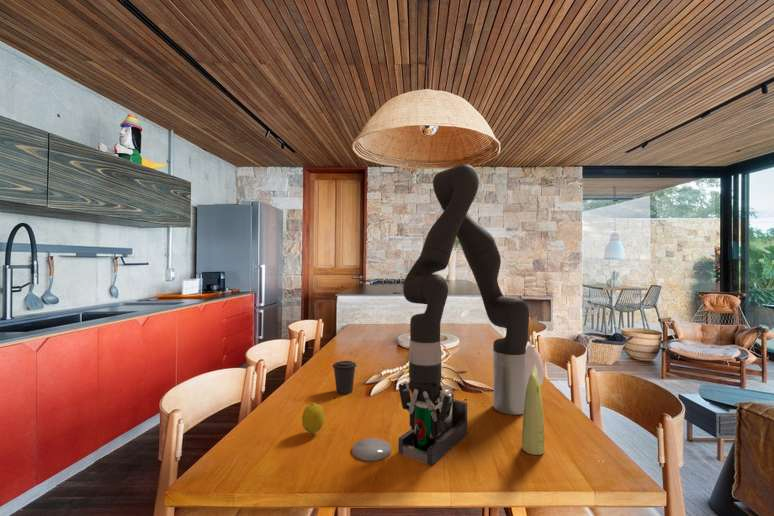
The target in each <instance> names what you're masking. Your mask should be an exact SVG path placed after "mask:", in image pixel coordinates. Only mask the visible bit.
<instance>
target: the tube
mask: <svg viewBox="0 0 774 516" xmlns="http://www.w3.org/2000/svg"><path fill="white" fill-rule="evenodd" d="M543 406H544V405H543V397H542V389H541V386H540V382H539V376H538V371H537V368H536V363H535V365H534V367H533V370H532V373H531V375H530V377H529V380H528V384H527V389H526V395H525V402H524V412H523V414H522V416H523V417H522V428H521V429H522V432H521V435H522V436H521V449H522V450H523V451H524V452H526V453H527V454H530V455H532V456H533V455H534V456H540V455H543V454H544V453H545V428H544V427H545V426H544V425H545V424H544V423H545V422H544V421H545V420H544V407H543Z"/></svg>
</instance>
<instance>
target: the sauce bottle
mask: <svg viewBox="0 0 774 516" xmlns="http://www.w3.org/2000/svg"><path fill="white" fill-rule="evenodd" d="M535 363H536V368H537V371H538V376H539V382H540V387H541V386H542V385H543V382H544V379H545V378H544V377H545V369H544V363H543V360H542V357H541V354H540V353H539V350H537V348H536V345H535V344H533V339H532V337H530V344H527V346H526V389H527V384H528V380H529V377H530V375H531V373H532V370H533V367H534V365H535Z"/></svg>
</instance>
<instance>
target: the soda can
mask: <svg viewBox="0 0 774 516" xmlns="http://www.w3.org/2000/svg"><path fill="white" fill-rule="evenodd" d="M435 405H436V404H435V403H433V406H435ZM432 421H433V418H432V415H431V411H429V409H428V406H427V403H426V402H425V401H421V400H418V401H417V400H416V403H415V406H414V446H413V447H414V448H417V449H420V450H422V451H425V452H427V448H428V447H430V446H431V445H432V444H433V443H434V442H436V441H437V440H436V437H433V436H432Z"/></svg>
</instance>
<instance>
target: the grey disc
mask: <svg viewBox="0 0 774 516" xmlns="http://www.w3.org/2000/svg"><path fill="white" fill-rule="evenodd" d="M391 449H392V446H391V444H390V443H389V442H388V441H387V440H384V439H380V438H375V437H374V438H373V437H371V438H365V439H361V440H358V441H357V442H355V443H354V444H353V445H352V451H351V452H352V454H353V456H354V457H355V458H356V459H357V460H360V461H362V462H378V461H382V460H384V459H386V458H387V457H389V456H390V454H391V452H392V450H391Z"/></svg>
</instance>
